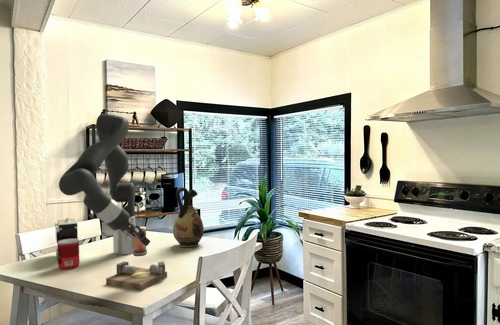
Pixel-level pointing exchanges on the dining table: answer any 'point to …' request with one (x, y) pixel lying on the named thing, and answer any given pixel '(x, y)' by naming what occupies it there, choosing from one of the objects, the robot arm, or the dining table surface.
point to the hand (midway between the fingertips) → (144, 242)
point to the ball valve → (66, 230)
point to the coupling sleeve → (139, 245)
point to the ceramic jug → (187, 221)
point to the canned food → (68, 254)
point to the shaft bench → (137, 276)
